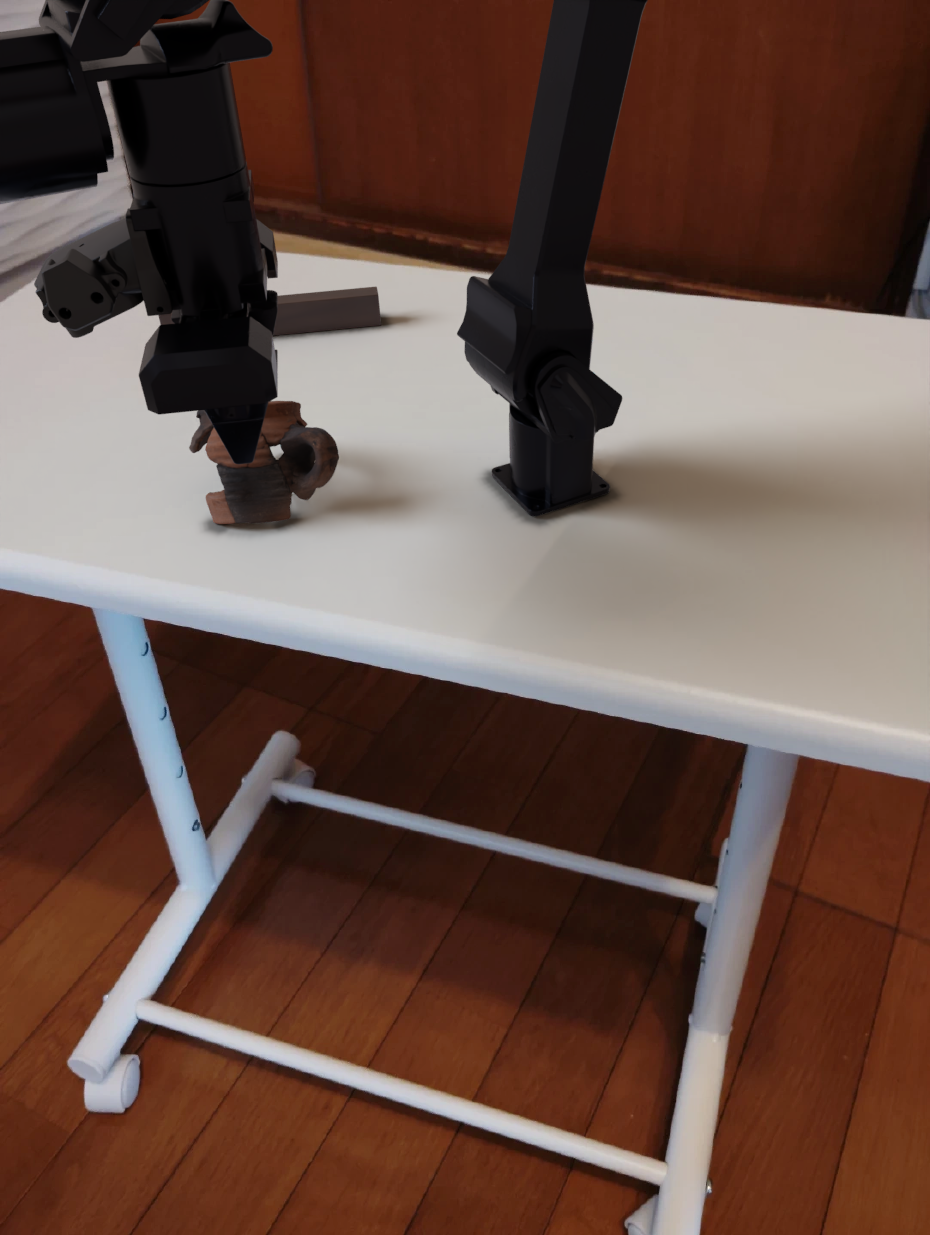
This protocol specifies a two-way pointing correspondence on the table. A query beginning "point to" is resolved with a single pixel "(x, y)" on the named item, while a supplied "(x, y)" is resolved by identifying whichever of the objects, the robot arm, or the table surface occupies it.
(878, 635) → the table surface
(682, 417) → the table surface
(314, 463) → the pottery mug
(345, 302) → the rail
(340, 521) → the table surface
